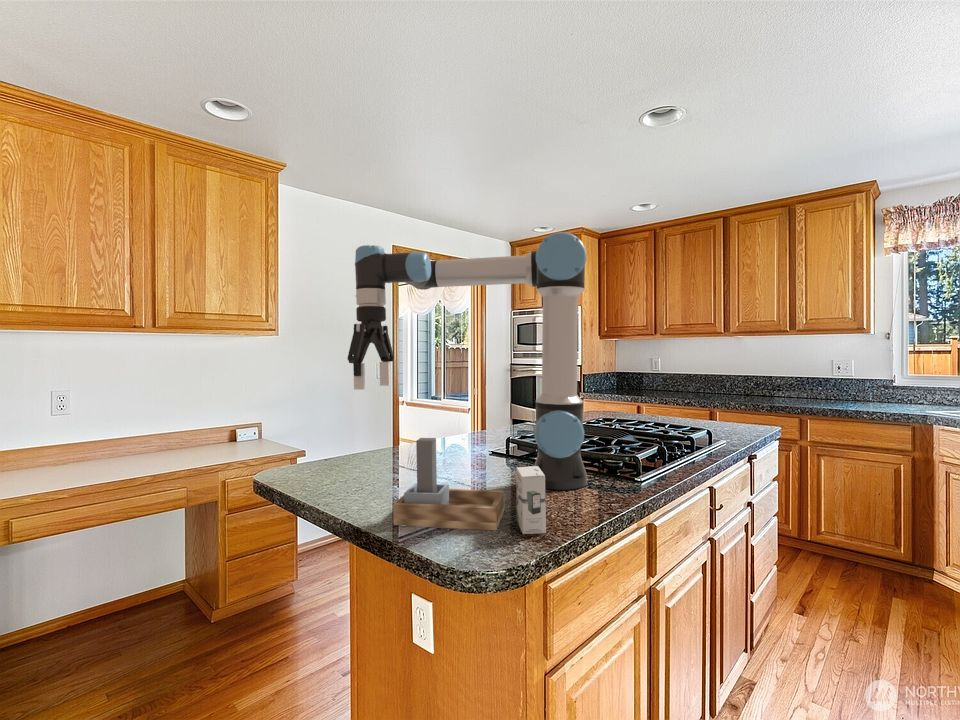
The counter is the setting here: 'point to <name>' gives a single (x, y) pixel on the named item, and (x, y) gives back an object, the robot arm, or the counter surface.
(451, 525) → the bay
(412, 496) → the grey square-based post
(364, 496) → the counter surface
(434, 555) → the counter surface
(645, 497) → the counter surface
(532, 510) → the ink box
